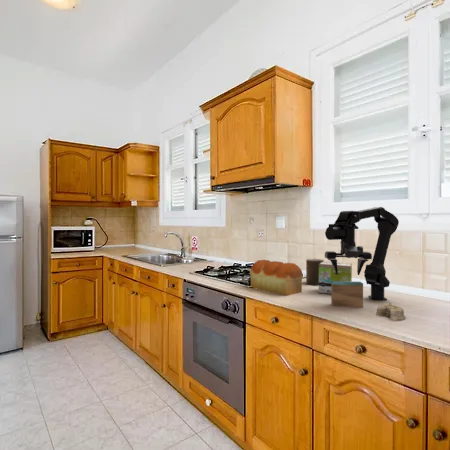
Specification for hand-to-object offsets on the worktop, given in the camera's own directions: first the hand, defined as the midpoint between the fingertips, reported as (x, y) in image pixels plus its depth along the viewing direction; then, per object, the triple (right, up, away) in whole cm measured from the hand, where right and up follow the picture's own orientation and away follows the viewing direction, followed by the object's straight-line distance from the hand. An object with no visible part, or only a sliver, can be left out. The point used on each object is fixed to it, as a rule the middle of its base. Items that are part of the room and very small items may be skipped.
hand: (347, 274), depth 141 cm
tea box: (+1, -12, +20) cm, 24 cm away
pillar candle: (-2, -12, +43) cm, 44 cm away
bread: (-28, -12, +26) cm, 40 cm away
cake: (+8, -13, -20) cm, 25 cm away
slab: (-2, -12, -5) cm, 13 cm away
